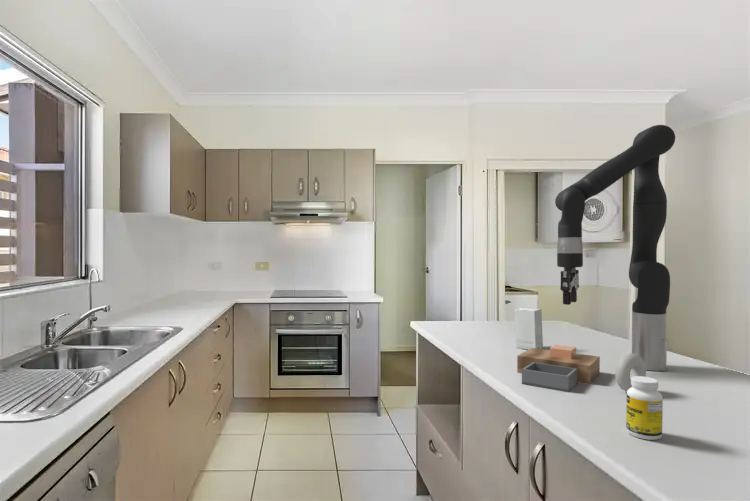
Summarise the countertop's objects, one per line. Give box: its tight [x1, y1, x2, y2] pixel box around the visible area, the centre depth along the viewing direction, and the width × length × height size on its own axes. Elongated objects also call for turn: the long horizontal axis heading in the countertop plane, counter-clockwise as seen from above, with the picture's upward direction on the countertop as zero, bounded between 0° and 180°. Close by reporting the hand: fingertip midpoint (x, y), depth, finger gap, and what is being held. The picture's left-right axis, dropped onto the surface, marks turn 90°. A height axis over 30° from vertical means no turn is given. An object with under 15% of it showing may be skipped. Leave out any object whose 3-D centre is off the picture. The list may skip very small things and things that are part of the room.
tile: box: [549, 344, 577, 359], centre depth 138 cm, size 6×6×2 cm
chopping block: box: [516, 348, 601, 385], centre depth 138 cm, size 20×14×5 cm
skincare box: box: [514, 307, 544, 351], centre depth 172 cm, size 8×6×15 cm
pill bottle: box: [625, 376, 664, 441], centre depth 92 cm, size 6×6×11 cm
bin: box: [521, 362, 578, 393], centre depth 127 cm, size 12×10×4 cm
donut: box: [614, 352, 647, 393], centre depth 120 cm, size 10×4×10 cm, turn 118°
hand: (570, 303), depth 146 cm, fingers open, 8 cm apart
